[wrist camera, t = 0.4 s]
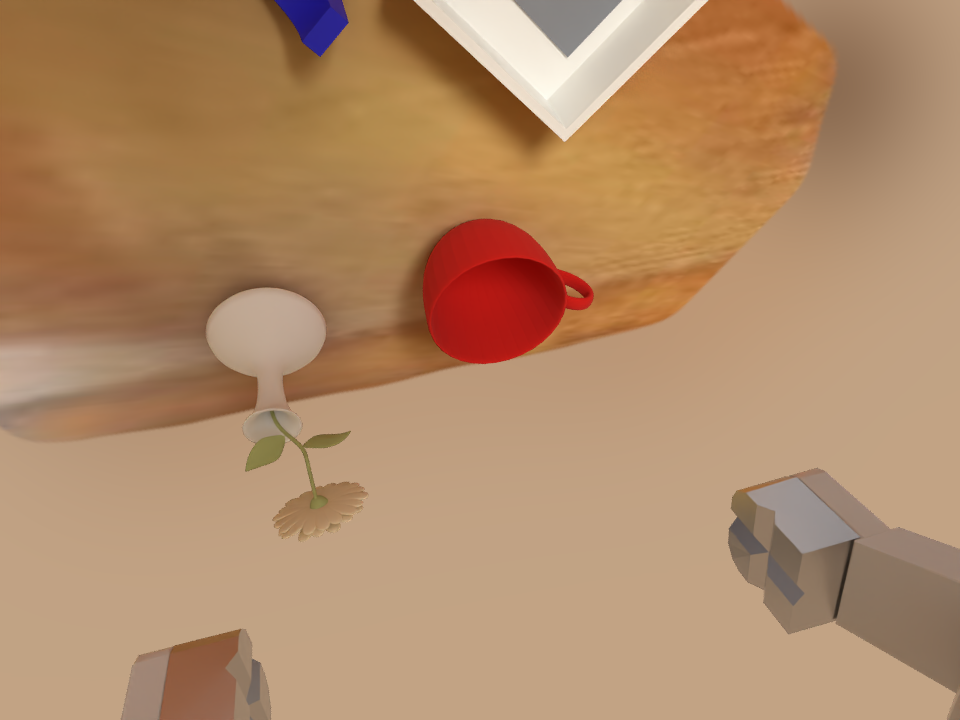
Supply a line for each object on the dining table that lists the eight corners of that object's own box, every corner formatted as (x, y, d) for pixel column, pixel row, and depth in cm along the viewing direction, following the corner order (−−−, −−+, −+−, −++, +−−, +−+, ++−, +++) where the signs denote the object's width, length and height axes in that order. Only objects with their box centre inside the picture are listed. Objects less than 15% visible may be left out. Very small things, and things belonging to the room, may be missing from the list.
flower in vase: (208, 363, 71) (202, 587, 55) (203, 275, 64) (193, 505, 47) (336, 360, 76) (367, 568, 59) (346, 278, 68) (384, 490, 51)
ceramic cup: (550, 298, 77) (581, 362, 70) (400, 297, 71) (418, 366, 65) (587, 197, 68) (626, 259, 61) (419, 186, 63) (442, 253, 56)
